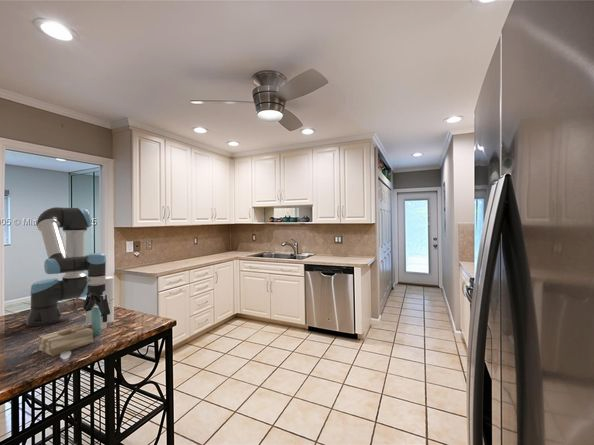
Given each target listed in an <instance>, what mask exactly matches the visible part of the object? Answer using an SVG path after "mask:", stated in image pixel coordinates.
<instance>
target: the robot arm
mask: <svg viewBox="0 0 594 445" xmlns="http://www.w3.org/2000/svg"><path fill="white" fill-rule="evenodd" d="M91 223H92V220H91V215H90V212H89V210H88V209H86V208H81V207H57V206H54V207H50V208H47V209H45V210H44V211H43V212H42V213H41V214H39V216H38V217H37V220H36V227H37V229H38V231H39V232H41V236H42V240H43V243H44V248H45V251H46V255H47V258H46V259H45V260H44V265H43V266H44V272H45V274H47V275H58V274H64V275H63V276H62V278H61V279H62V280H59V279H58V278H47V279H42V280H39V281H36V282H33V283H32V284H31V286H30V292H29V293H30V311H29V313H28V315H27V318H26V320H25V321H26V326H28V327H41V326H48V325H52V324H56V323H59V322H60V321H61V320H62V318H63V316H62V312H61V310H60V308H59V302H61V301H68V300H75V299H79V298H84V297H86V298H85V301H84V304H83V308H82V309H83V310H85V324H86V325H88V324H90V325H91V324H92V307H94V306H95V305H96V306H98V307H99V310H100V312H101V328H100V329H101V330H103V329H107V328H108V323H107V315H108V314H110V310H109V306H108V302H107V295H103V292H104V291H105V282H106V277H107V276H106V269H107V268H106V267H107V266H106V265H107V264H106V263H107V258H106V254H105V253H101V252H98V253H94V252H93V253H89V254H86V255H85V249H84V247H85V232H87V231H88V228H90V227H91ZM60 228H61V229H62V232H64V233H65V244H64V240H63V237H62V235H61V231H60ZM85 271H87V274H86V273H85Z"/></svg>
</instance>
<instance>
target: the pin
mask: <svg viewBox="0 0 594 445" xmlns="http://www.w3.org/2000/svg"><path fill="white" fill-rule="evenodd" d="M100 328H101V312H100V310H99V307H98V305H94V306H93V307H92V323H91V328H90V329H92V330H93V337H96V336H100V335H101V334H102V329H100Z"/></svg>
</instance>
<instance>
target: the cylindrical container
mask: <svg viewBox="0 0 594 445" xmlns="http://www.w3.org/2000/svg"><path fill="white" fill-rule="evenodd" d="M103 295H107V302H108V306H109V310H110V314H108V315H107V324H109V323H112V322H114V321H115V320H114V319H115V316H114V314H115V313H114V312H115V311H114V310H115V309H114V308H115V276H106V282H105V291H104V292H103Z"/></svg>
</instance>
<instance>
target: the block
mask: <svg viewBox="0 0 594 445" xmlns="http://www.w3.org/2000/svg"><path fill="white" fill-rule="evenodd" d="M38 340H39V344H38V345H39V347H38V348H39V349H38V350H39V351H40V352H43V353H45V354H47V355H49V356H51V357H55V356H56V355H60V354H63V353H66V352H68V351H72V350H75V349H79V348H80V347H81V348H82V347H84V346H87V345H90V344H93V343H94V336H93V330H92V329H91V328H89V327H86V326H84V325H80V324H79V325H77V326H76V325H75V326H73V327H69V328H65V329H61V330H58V331H54V332H50V333H47V334H44V335H43V334H42V335H40V336H39V339H38Z"/></svg>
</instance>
